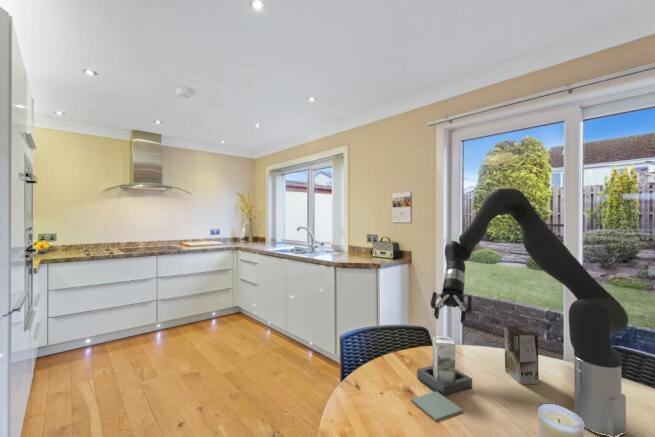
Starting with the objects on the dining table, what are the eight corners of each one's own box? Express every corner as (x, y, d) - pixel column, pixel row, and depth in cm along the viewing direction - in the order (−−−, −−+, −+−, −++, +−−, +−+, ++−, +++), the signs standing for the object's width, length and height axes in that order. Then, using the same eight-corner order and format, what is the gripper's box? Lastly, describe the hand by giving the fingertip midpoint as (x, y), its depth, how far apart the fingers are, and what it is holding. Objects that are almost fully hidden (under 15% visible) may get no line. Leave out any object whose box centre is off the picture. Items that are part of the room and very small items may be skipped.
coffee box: (539, 384, 98) (539, 335, 98) (519, 384, 98) (519, 335, 98) (522, 370, 107) (521, 325, 107) (504, 370, 107) (503, 325, 108)
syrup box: (450, 378, 102) (449, 336, 102) (455, 388, 96) (455, 343, 96) (432, 377, 102) (432, 335, 102) (437, 387, 96) (437, 342, 97)
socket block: (472, 388, 96) (472, 378, 96) (443, 396, 91) (443, 387, 91) (443, 370, 107) (443, 362, 107) (417, 378, 102) (417, 369, 102)
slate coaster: (462, 411, 84) (462, 409, 84) (435, 421, 80) (435, 419, 80) (436, 393, 93) (436, 391, 93) (410, 400, 89) (410, 398, 89)
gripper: (433, 275, 120) (427, 311, 110) (473, 279, 113) (469, 318, 103) (436, 286, 125) (430, 322, 115) (474, 290, 117) (471, 329, 107)
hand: (449, 320), depth 109 cm, fingers open, 8 cm apart
